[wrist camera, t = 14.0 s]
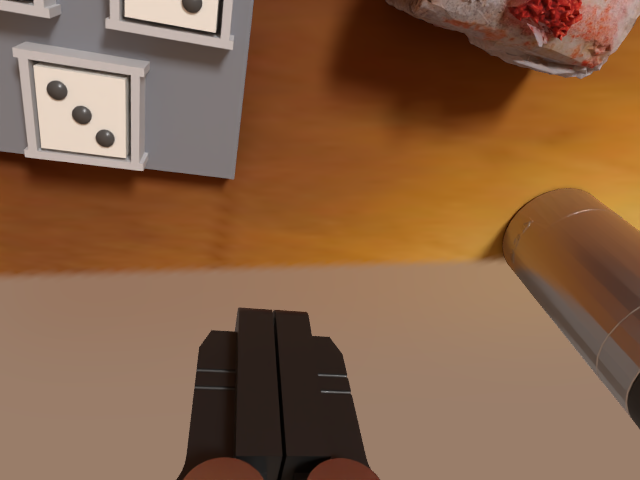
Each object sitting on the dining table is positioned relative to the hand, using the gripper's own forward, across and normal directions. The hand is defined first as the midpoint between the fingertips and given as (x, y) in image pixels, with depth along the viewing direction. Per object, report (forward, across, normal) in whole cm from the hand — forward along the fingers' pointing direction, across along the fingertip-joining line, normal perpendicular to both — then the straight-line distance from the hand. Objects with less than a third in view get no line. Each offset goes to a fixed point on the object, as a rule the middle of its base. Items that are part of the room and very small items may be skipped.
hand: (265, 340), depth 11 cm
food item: (+27, -14, -8) cm, 32 cm away
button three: (+25, +10, +3) cm, 27 cm away
